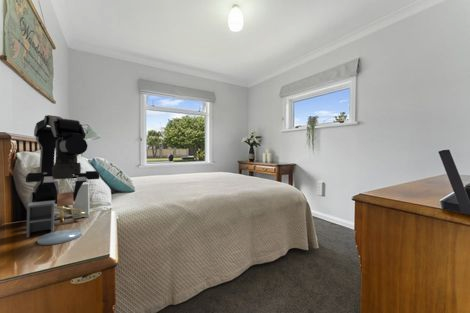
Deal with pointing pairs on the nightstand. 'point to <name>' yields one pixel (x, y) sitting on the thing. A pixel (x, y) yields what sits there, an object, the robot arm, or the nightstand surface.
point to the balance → (62, 220)
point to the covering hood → (40, 209)
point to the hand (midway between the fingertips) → (66, 201)
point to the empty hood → (40, 224)
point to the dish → (59, 237)
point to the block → (65, 199)
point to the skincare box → (82, 201)
